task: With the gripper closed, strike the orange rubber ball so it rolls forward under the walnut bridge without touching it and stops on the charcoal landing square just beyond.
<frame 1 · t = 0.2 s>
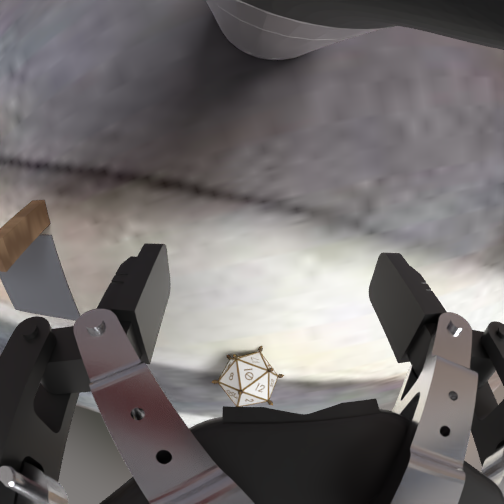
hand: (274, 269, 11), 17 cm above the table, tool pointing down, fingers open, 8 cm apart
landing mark: (29, 278, 33), on the table
bridge: (7, 213, 27), on the table
game die: (248, 355, 41), on the table
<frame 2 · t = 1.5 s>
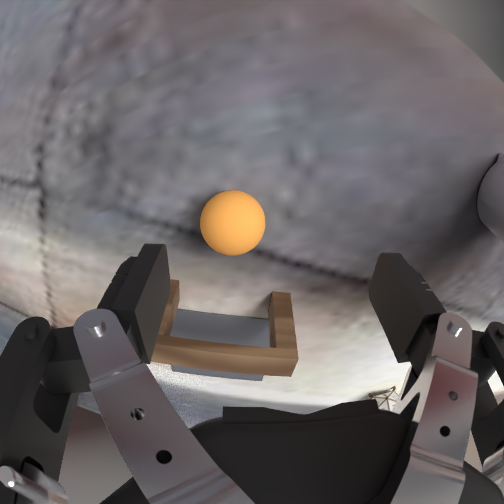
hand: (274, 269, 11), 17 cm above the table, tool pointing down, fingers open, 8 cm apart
ball: (232, 222, 26), on the table
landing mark: (219, 349, 40), on the table
bridge: (224, 296, 34), on the table
game die: (381, 392, 48), on the table
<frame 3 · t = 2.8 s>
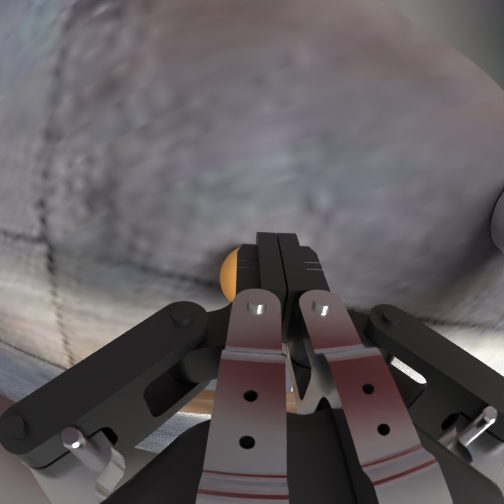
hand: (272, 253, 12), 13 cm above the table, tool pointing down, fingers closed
ball: (253, 277, 25), on the table
bridge: (245, 339, 33), on the table
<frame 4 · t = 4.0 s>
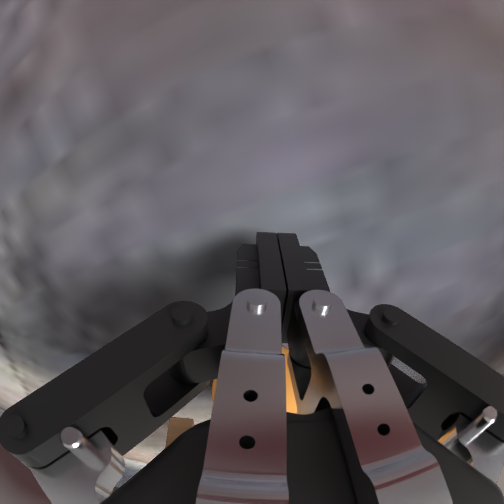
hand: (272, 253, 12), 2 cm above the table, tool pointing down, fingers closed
ball: (263, 392, 15), on the table
bridge: (254, 428, 23), on the table
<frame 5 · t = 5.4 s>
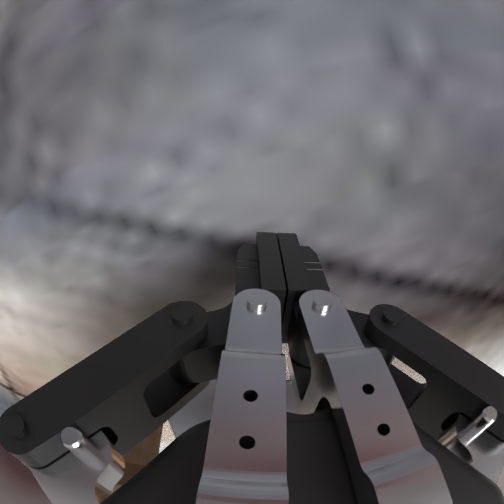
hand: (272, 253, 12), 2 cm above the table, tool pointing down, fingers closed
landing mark: (250, 423, 22), on the table
bridge: (258, 353, 17), on the table
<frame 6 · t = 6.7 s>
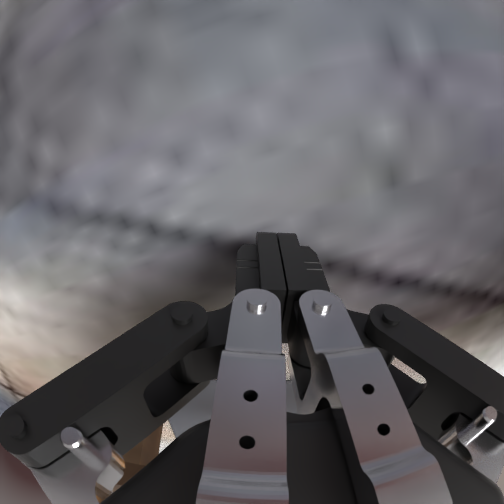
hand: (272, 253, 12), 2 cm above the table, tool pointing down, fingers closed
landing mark: (250, 423, 22), on the table
bridge: (258, 353, 17), on the table
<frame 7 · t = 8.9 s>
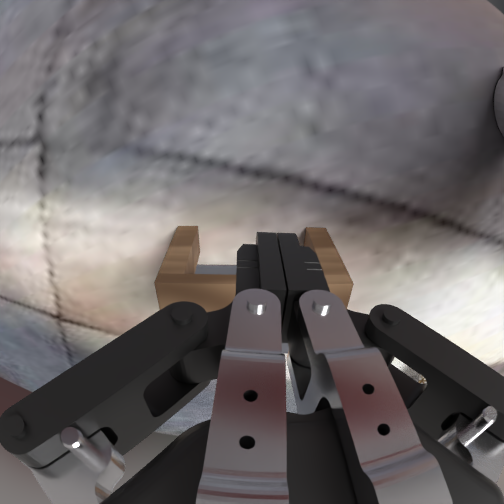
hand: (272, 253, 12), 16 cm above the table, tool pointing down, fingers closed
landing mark: (250, 314, 35), on the table
bridge: (252, 240, 30), on the table
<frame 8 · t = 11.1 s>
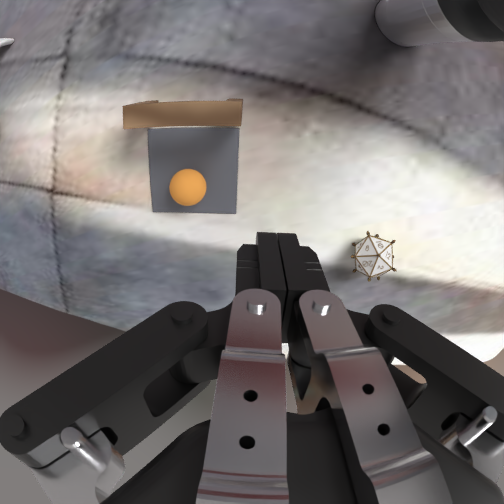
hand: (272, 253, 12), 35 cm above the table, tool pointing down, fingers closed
ball: (187, 187, 43), resting on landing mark
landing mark: (192, 171, 45), on the table
bridge: (192, 108, 40), on the table
game die: (366, 244, 53), on the table
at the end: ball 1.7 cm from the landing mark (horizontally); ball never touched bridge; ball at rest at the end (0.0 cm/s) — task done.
